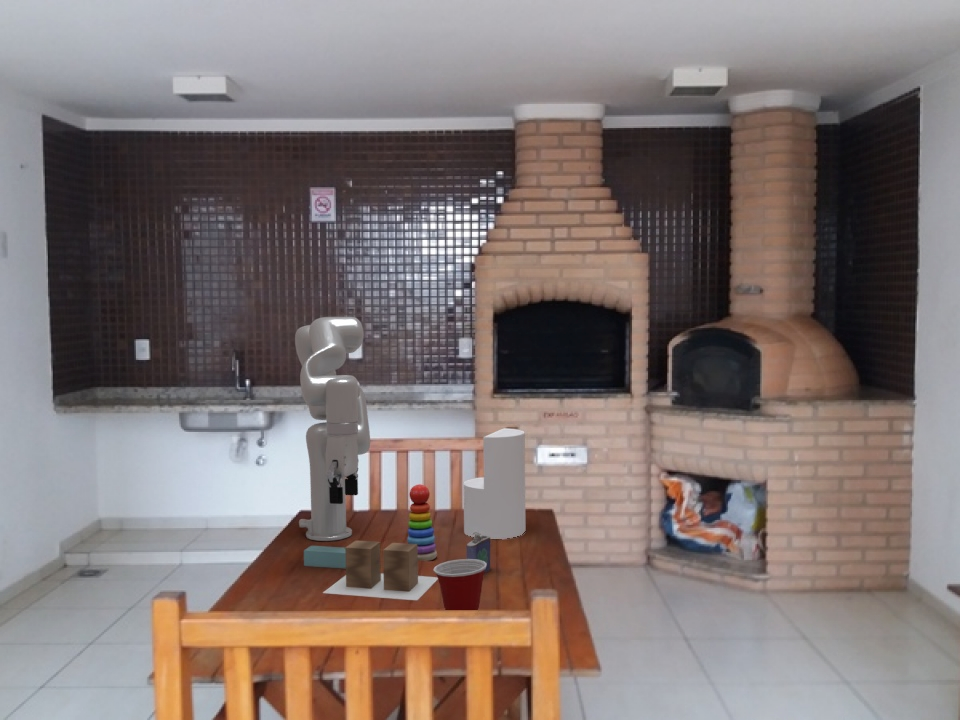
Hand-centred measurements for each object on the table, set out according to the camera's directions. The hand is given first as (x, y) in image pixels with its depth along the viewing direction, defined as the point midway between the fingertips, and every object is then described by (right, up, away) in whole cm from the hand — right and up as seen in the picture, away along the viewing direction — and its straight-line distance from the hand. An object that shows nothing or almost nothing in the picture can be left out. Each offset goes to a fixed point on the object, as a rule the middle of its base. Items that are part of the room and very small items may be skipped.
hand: (344, 499), depth 217 cm
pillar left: (+7, -17, -14) cm, 23 cm away
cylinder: (+37, -15, +34) cm, 52 cm away
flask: (+33, -18, -7) cm, 38 cm away
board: (+11, -18, -15) cm, 26 cm away
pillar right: (+15, -17, -16) cm, 28 cm away
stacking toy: (+18, -17, +9) cm, 26 cm away
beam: (-2, -17, +1) cm, 17 cm away
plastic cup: (+29, -20, -36) cm, 51 cm away
